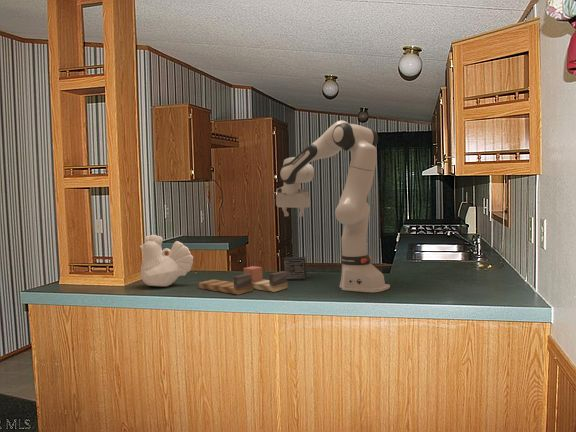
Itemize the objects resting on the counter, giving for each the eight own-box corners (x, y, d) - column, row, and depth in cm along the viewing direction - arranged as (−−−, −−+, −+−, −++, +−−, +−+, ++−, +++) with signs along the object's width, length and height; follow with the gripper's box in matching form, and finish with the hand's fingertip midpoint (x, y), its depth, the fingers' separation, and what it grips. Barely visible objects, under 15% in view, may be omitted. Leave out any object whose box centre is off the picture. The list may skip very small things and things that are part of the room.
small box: (306, 277, 274) (306, 256, 273) (305, 280, 268) (305, 258, 267) (285, 277, 275) (284, 256, 274) (284, 280, 269) (283, 259, 268)
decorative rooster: (135, 289, 262) (132, 236, 260) (151, 282, 277) (147, 232, 275) (185, 290, 256) (181, 236, 254) (198, 282, 271) (195, 232, 269)
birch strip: (287, 288, 250) (286, 271, 250) (274, 291, 243) (273, 274, 243) (246, 282, 267) (246, 266, 267) (233, 285, 260) (232, 269, 260)
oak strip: (252, 290, 248) (251, 273, 247) (238, 294, 241) (237, 277, 240) (213, 284, 265) (212, 268, 264) (199, 288, 258) (198, 272, 258)
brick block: (262, 280, 258) (261, 267, 258) (253, 282, 254) (252, 269, 253) (253, 278, 262) (252, 266, 261) (244, 281, 257) (243, 268, 257)
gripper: (312, 188, 279) (313, 216, 280) (281, 189, 292) (282, 215, 293) (304, 189, 274) (305, 217, 275) (273, 189, 287) (274, 216, 289)
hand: (293, 216), depth 284 cm, fingers open, 8 cm apart
